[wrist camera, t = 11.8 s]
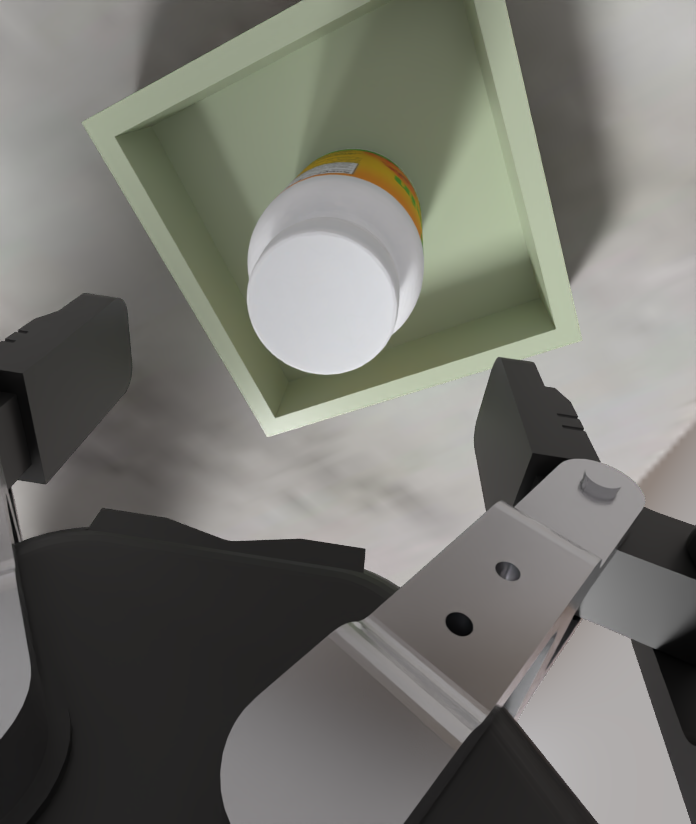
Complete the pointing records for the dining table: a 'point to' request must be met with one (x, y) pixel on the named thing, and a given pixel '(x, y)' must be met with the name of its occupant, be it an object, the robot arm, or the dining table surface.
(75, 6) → the dining table surface
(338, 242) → the supplement bottle
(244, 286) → the bin
